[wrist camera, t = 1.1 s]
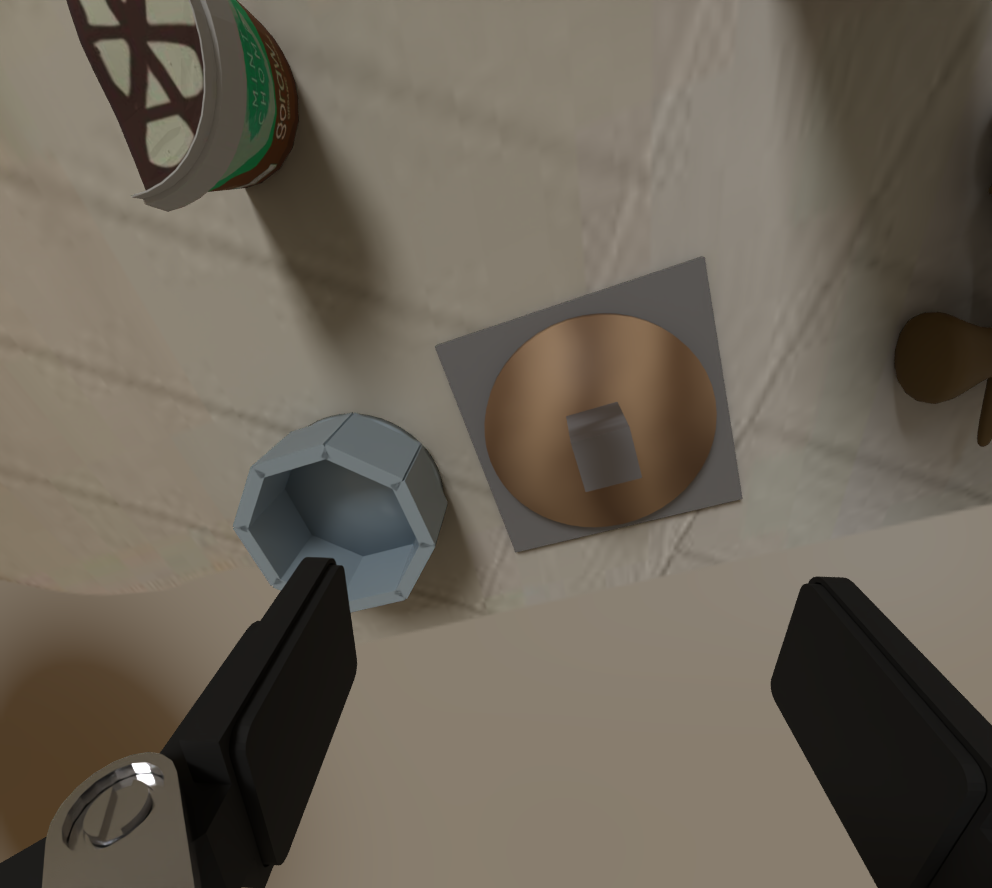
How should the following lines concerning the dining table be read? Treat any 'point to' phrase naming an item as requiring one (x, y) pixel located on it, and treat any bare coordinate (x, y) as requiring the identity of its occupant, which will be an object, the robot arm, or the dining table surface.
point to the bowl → (345, 506)
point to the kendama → (946, 361)
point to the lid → (600, 420)
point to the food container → (191, 92)
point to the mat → (654, 297)
